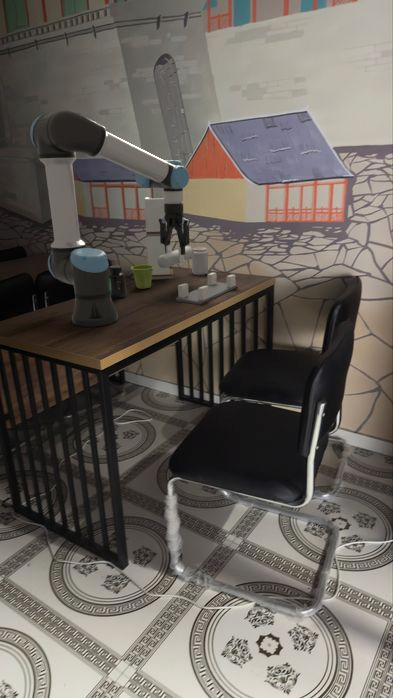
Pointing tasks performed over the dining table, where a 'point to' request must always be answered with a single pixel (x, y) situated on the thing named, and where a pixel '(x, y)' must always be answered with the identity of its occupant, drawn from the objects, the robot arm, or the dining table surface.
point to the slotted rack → (206, 290)
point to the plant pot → (143, 275)
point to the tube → (174, 257)
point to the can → (200, 261)
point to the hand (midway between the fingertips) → (175, 262)
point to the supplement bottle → (117, 282)
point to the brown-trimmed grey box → (155, 237)
